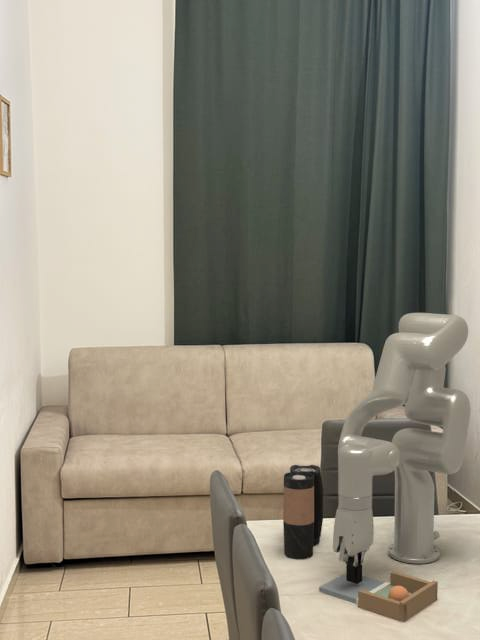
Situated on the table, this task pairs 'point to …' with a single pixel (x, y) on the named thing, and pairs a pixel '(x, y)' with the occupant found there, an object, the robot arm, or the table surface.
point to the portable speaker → (317, 497)
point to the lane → (385, 594)
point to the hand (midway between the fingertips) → (354, 581)
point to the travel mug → (298, 515)
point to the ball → (398, 593)
